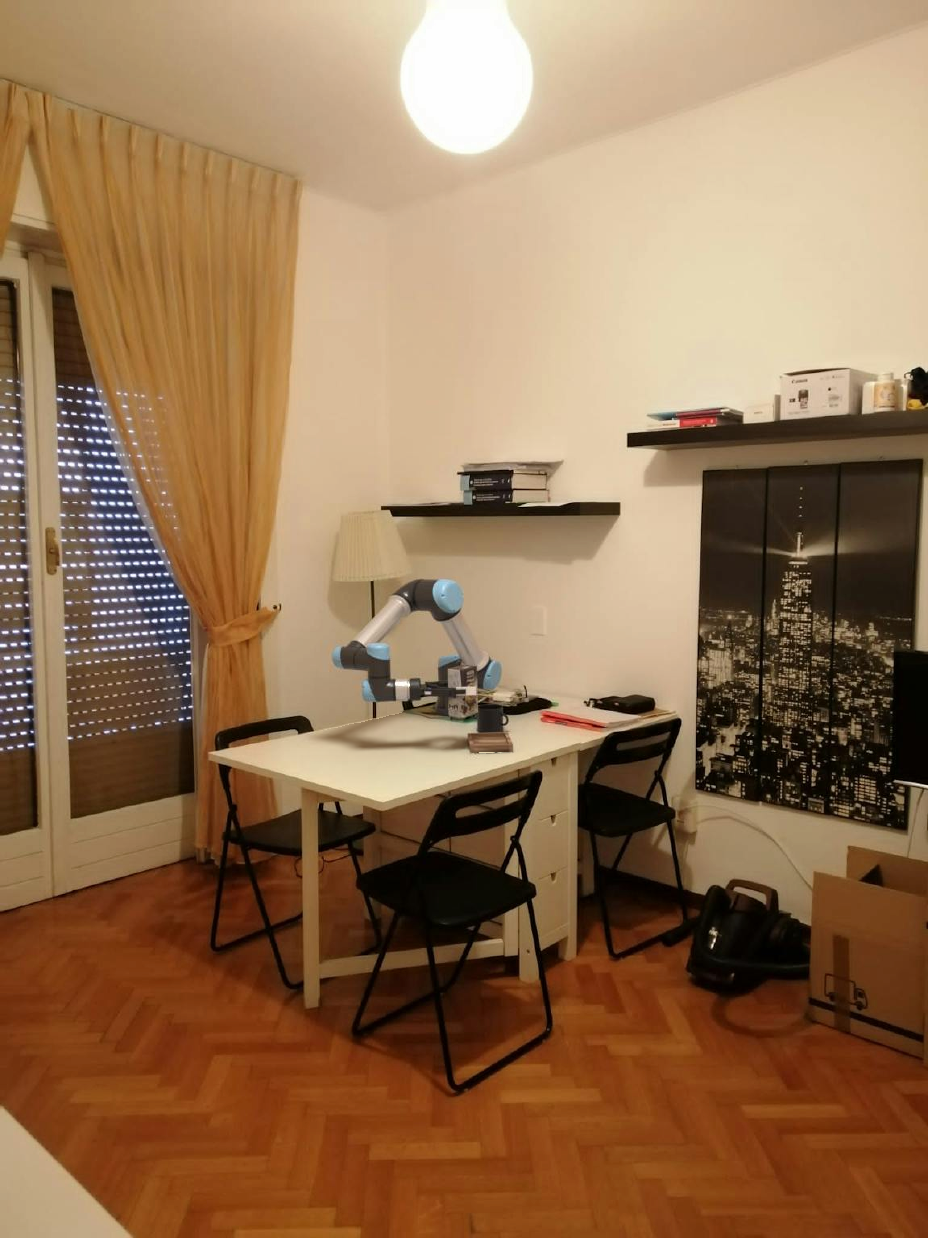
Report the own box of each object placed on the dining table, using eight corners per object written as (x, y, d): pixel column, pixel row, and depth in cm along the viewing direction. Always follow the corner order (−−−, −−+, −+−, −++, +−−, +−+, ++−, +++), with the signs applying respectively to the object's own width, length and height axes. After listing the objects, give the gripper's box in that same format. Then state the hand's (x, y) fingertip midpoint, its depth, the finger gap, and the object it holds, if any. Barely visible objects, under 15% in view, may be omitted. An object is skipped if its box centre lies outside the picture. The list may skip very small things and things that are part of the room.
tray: (467, 740, 315) (467, 733, 315) (507, 739, 316) (507, 731, 316) (470, 754, 297) (470, 746, 297) (513, 752, 298) (513, 744, 298)
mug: (503, 736, 321) (502, 710, 320) (472, 733, 326) (472, 708, 325) (513, 730, 329) (513, 705, 328) (484, 727, 335) (483, 703, 334)
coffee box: (464, 718, 298) (463, 669, 296) (448, 716, 301) (446, 668, 300) (478, 712, 306) (477, 665, 304) (462, 710, 309) (461, 664, 307)
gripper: (410, 693, 314) (474, 691, 315) (408, 708, 291) (477, 705, 292) (409, 672, 313) (473, 670, 314) (407, 685, 290) (476, 682, 291)
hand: (475, 687), depth 303 cm, fingers closed on coffee box, 10 cm apart
